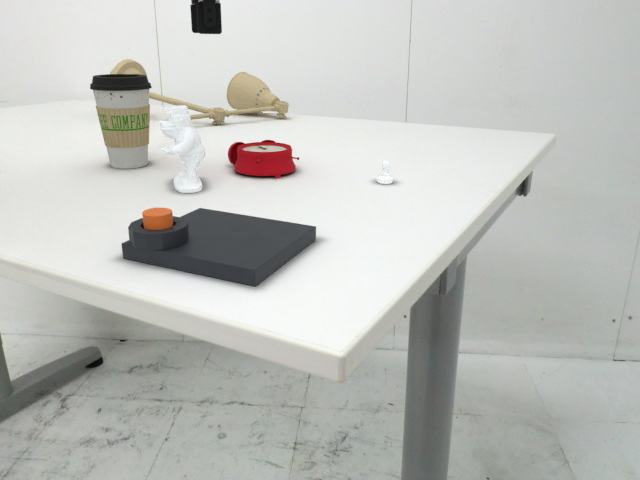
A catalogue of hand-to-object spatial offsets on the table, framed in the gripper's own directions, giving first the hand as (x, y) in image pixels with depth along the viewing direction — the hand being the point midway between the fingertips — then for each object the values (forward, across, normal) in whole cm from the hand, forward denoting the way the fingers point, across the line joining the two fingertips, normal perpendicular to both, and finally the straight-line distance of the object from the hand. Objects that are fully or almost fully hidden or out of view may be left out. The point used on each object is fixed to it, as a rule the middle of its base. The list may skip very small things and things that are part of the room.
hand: (206, 33), depth 83 cm
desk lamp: (+22, -66, +6) cm, 70 cm away
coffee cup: (+22, -14, -13) cm, 29 cm away
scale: (+22, +31, -3) cm, 38 cm away
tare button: (+19, +31, -9) cm, 37 cm away
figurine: (+22, +2, -5) cm, 23 cm away
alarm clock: (+22, -6, +9) cm, 25 cm away
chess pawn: (+22, +8, +26) cm, 35 cm away
